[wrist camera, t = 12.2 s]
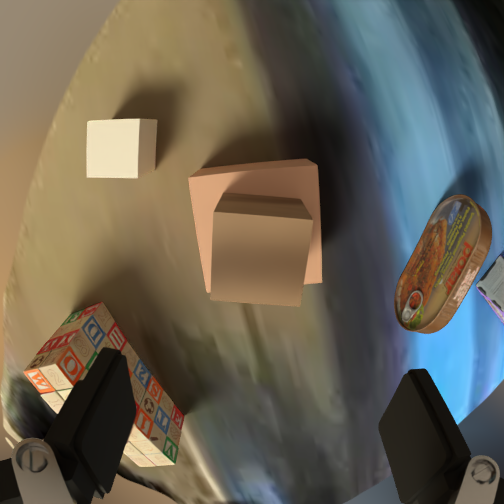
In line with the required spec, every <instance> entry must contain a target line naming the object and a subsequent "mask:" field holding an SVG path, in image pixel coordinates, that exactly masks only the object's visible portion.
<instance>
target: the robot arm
mask: <svg viewBox="0 0 504 504" xmlns="http://www.w3.org/2000/svg"><path fill="white" fill-rule="evenodd" d="M136 411H137V409H136V403H135V399H134V394H133V389H132V384H131V379H130V374H129V369H128V364H127V358H126V356H125V355H122V353H121V351H120V350H118V349H113V348H108V347H103V348H102V349H101V351H100V352H99V354H98V356H97V357H96V359H95V361H94V362H93V364H92V366H91V367H90V369H89V371H88V373H87V374H86V376H85V378H84V379H83V380H78V381H77V382H76V383H75V385H74V386H73V388H72V390H71V392H70V393H69V395H68V397H67V399H66V400H65V402H64V404H63V406H62V407H61V409H60V411H59V413H58V415H57V416H56V418H55V420H54V422H53V424H52V426H51V427H50V429H49V431H48V433H47V435H46V437H45V439H44V441H42V440H40V439H36V438H29V439H25V440H22V441H21V442H19V443H18V444H17V445H16V446H15V448H14V449H13V452H12V456H11V457H12V458H9V459H6V460H2V461H0V504H91V501H92V498H93V496H94V497H97V498H100V499H103V497H104V494H105V493H109V492H110V491H111V488H112V485H113V482H114V478H115V476H116V473H117V469H118V466H119V463H120V460H121V457H122V454H123V451H124V449H125V446H126V443H127V440H128V437H129V434H130V431H131V428H132V425H133V423H134V420H135V417H136ZM379 432H380V435H381V439H382V442H383V445H384V448H385V451H386V454H387V458H388V461H389V464H390V467H391V471H392V474H393V477H394V481H395V484H396V488H397V491H398V494H399V498H400V501H401V502H402V503H404V504H504V479H502V478H500V477H499V476H500V471H499V467H498V465H497V464H496V462H495V461H494V460H493V459H491V458H489V457H488V456H476V457H474V458H473V459H471V457H470V455H471V452H470V450H469V448H468V446H467V444H466V442H465V440H464V438H463V436H462V434H461V432H460V430H459V428H458V426H457V424H456V422H455V420H454V418H453V416H452V415H451V413H450V411H449V409H448V407H447V405H446V403H445V401H444V400H443V398H442V396H441V394H440V392H439V391H438V389H437V387H436V385H435V383H434V382H433V380H432V378H431V376H430V375H429V373H428V371H427V370H426V369H411V370H409V371H408V373H407V374H405V375H404V376H403V378H402V380H401V382H400V384H399V386H398V388H397V390H396V392H395V394H394V396H393V398H392V400H391V401H390V403H389V405H388V407H387V409H386V411H385V413H384V414H383V416H382V418H381V420H380V422H379Z"/></svg>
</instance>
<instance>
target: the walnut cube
mask: <svg viewBox="0 0 504 504" xmlns="http://www.w3.org/2000/svg"><path fill="white" fill-rule="evenodd" d="M312 227H313V219H312V217H311V215H310V214H309V212H308V210H307V209H306V207H305V205H304V204H303V202H302V200H301V199H296V198H285V197H274V196H263V195H251V194H238V193H224V192H223V194H222V196H221V198H220V200H219V202H218V204H217V206H216V208H215V210H214V212H213V233H212V259H211V294H210V300H218V301H230V302H242V303H255V304H269V305H284V306H300V303H301V297H302V291H303V285H304V279H305V273H306V267H307V261H308V254H309V248H310V241H311V234H312Z"/></svg>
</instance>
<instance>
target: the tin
mask: <svg viewBox="0 0 504 504" xmlns="http://www.w3.org/2000/svg"><path fill="white" fill-rule="evenodd" d="M491 240H492V226H491V222H490V219H489V216H488V215H487V213H486V211H485V210H484V209H483V208H482V207H481V206H480V205H478V204H477V203H475V202H474V201H473V199H471V198H470V197H468V196H466V195H462V194H457V195H453V196H451V197H449V198H447V199H445V200H444V201H443V202H441V203H440V204H439V206H438V207H437V208H436V209H435V210H434V212H433V214H432V215H431V217H430V219H429V221H428V223H427V225H426V228H425V230H424V232H423V234H422V236H421V238H420V240H419V242H418V244H417V246H416V248H415V250H414V252H413V254H412V256H411V258H410V260H409V262H408V264H407V265H406V267H405V269H404V271H403V273H402V275H401V277H400V279H399V282H398V284H397V288H396V292H395V298H394V308H395V314H396V318H397V320H398V322H399V324H400V325H401V326H402V327H403V328H404V329H405V330H408V331H412V332H419V333H424V334H430V333H434V332H437V331H439V330H441V329H442V328H443V327H445V326H446V325H447V324H448V323H449V321H450V320H451V319H452V317H453V316H454V314H455V313H456V311H457V309H458V308H459V306H460V304H461V303H462V301H463V299H464V297H465V296H466V294H467V292H468V291H469V289H470V287H471V285H472V283H473V281H474V279H475V278H476V276H477V274H478V272H479V270H480V268H481V266H482V264H483V262H484V260H485V258H486V256H487V254H488V252H489V249H490V245H491Z"/></svg>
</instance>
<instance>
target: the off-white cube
mask: <svg viewBox="0 0 504 504" xmlns="http://www.w3.org/2000/svg"><path fill="white" fill-rule="evenodd" d="M156 136H157V120H156V119H115V120H96V121H88V124H87V177H102V178H139V177H142V176H144V175H146V174H148V173H150V172H152V171H155V158H156Z"/></svg>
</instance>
